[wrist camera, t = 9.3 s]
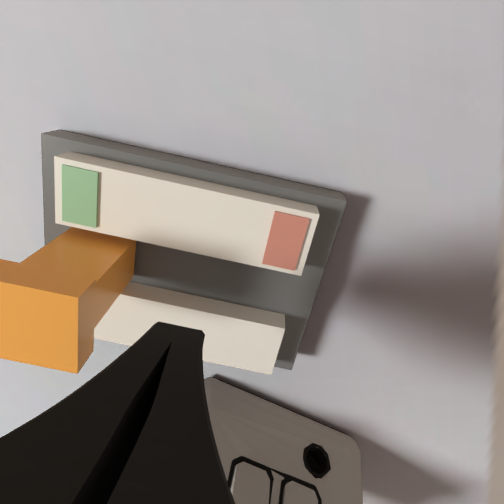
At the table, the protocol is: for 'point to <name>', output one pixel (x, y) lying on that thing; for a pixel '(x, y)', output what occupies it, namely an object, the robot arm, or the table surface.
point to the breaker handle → (61, 297)
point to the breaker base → (197, 244)
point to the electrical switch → (280, 452)
